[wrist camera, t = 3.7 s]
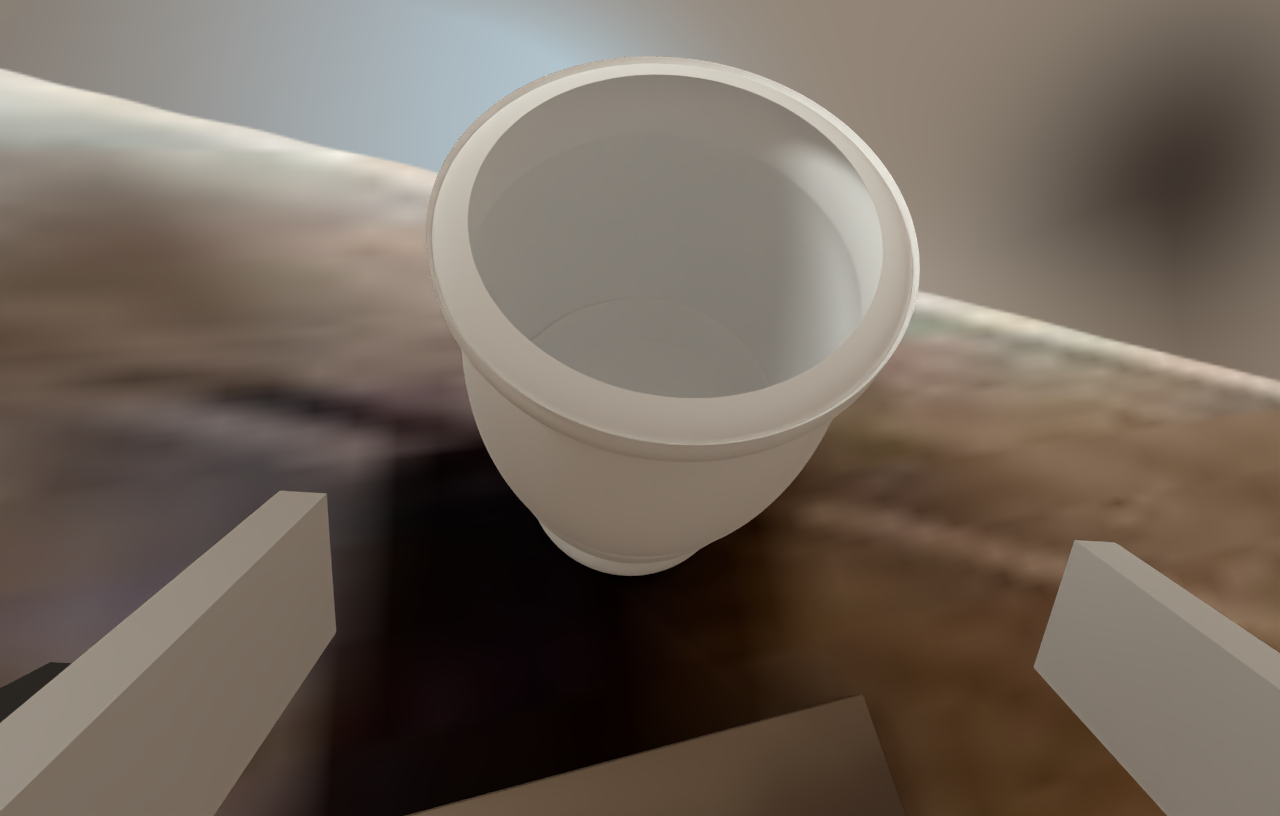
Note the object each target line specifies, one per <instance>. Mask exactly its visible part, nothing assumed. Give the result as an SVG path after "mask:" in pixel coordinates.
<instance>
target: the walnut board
mask: <svg viewBox="0 0 1280 816" xmlns="http://www.w3.org/2000/svg"><path fill="white" fill-rule="evenodd" d="M406 816H906V815H905V812H904V809H903V806H902V804H901V801H900V798H899V795H898V792H897V789H896V787H895V784H894V781H893V778H892V775H891V772H890V770H889V767H888V764H887V761H886V758H885V755H884V753H883V750H882V747H881V744H880V741H879V738H878V736H877V733H876V730H875V727H874V724H873V722H872V719H871V716H870V713H869V710H868V707H867V705H866V702H865V699H864V696H863V694H862V695H855V696H849V697H845V698H841V699H837V700H834V701H830V702H826V703H823V704H819V705H815V706H811V707H808V708H804V709H800V710H797V711H793V712H789V713H785V714H782V715H778V716H774V717H770V718H767V719H763V720H759V721H756V722H752V723H748V724H744V725H741V726H737V727H733V728H730V729H726V730H722V731H718V732H715V733H711V734H707V735H703V736H700V737H696V738H692V739H689V740H685V741H681V742H677V743H674V744H670V745H666V746H663V747H659V748H655V749H651V750H648V751H644V752H640V753H637V754H633V755H629V756H625V757H622V758H618V759H614V760H610V761H607V762H603V763H599V764H596V765H592V766H588V767H584V768H581V769H577V770H573V771H570V772H566V773H562V774H558V775H555V776H551V777H547V778H544V779H540V780H536V781H532V782H529V783H525V784H521V785H517V786H514V787H510V788H506V789H503V790H499V791H495V792H491V793H488V794H484V795H480V796H477V797H473V798H469V799H465V800H462V801H458V802H454V803H451V804H447V805H443V806H439V807H436V808H432V809H428V810H424V811H421V812H417V813H413V814H410V815H406Z"/></svg>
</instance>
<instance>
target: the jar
mask: <svg viewBox="0 0 1280 816" xmlns="http://www.w3.org/2000/svg"><path fill="white" fill-rule="evenodd" d="M426 246H427V255H428V261H429V266H430V271H431V277H432V282H433V287H434V291H435V294H436V297H437V300H438V303H439V306H440V309H441V312H442V314H443V317H444V319H445V321H446V323H447V326H448V328H449V330H450V332H451V333H452V335H453V337H454V339H455V340H456V342H457V343H458V345H459V347H460V348H461V350H462V361H463V369H464V376H465V382H466V387H467V392H468V396H469V401H470V404H471V408H472V412H473V415H474V418H475V421H476V424H477V427H478V430H479V432H480V435H481V437H482V439H483V442H484V444H485V446H486V448H487V450H488V452H489V454H490V456H491V458H492V460H493V462H494V464H495V465H496V467H497V469H498V470H499V472H500V473H501V475H502V477H503V478H504V480H505V481H506V482H507V484H508V485H509V486H510V488H511V489H512V490H513V492H514V493H515V494H516V495H517V497H518V498H519V499H520V500H521V501H522V502H523V503H524V504H525V505H526V506H527V507H528V508H529V509H530V511H531V512H532V513H533V514H534V515H535V516H536V518H537V519H538V520H539V522H540V524H541V526H542V528H543V529H544V531H545V532H546V534H547V535H548V536H549V537H550V539H551V540H552V541H553V542H554V543H555V544H556V545H557V546H558V547H559V548H560V549H561V550H562V551H563V552H564V553H566V554H567V555H568V556H570V557H571V558H573V559H574V560H576V561H577V562H579V563H581V564H583V565H585V566H587V567H589V568H592V569H594V570H597V571H601V572H604V573H608V574H614V575H623V576H638V575H647V574H652V573H656V572H660V571H663V570H666V569H669V568H671V567H673V566H675V565H677V564H679V563H681V562H683V561H685V560H686V559H688V558H689V557H691V556H692V555H693V554H694V553H696V552H697V551H698V550H699V549H701V548H703V547H705V546H706V545H708V544H710V543H712V542H714V541H716V540H718V539H720V538H722V537H724V536H726V535H728V534H730V533H732V532H733V531H735V530H737V529H738V528H740V527H742V526H743V525H745V524H746V523H748V522H749V521H750V520H752V519H753V518H754V517H756V516H757V515H758V514H760V513H761V512H762V511H763V510H764V509H766V508H767V507H768V506H769V505H770V504H771V503H772V502H773V501H774V500H776V499H777V498H778V497H779V496H780V495H781V494H782V493H783V491H784V490H785V489H786V488H787V487H788V486H789V485H790V484H791V483H792V481H793V480H794V479H795V478H796V477H797V475H798V474H799V473H800V472H801V470H802V469H803V468H804V466H805V465H806V463H807V462H808V461H809V459H810V458H811V456H812V455H813V453H814V452H815V450H816V448H817V447H818V445H819V444H820V442H821V440H822V438H823V437H824V435H825V433H826V431H827V429H828V427H829V425H830V423H831V421H832V419H833V418H834V417H836V416H837V415H838V414H840V413H841V412H842V411H844V410H845V409H846V408H847V407H849V406H850V405H851V404H852V403H853V402H854V401H856V400H857V399H858V398H859V397H860V396H861V395H862V394H863V392H864V391H865V390H866V389H867V388H868V387H869V386H870V385H871V383H872V382H873V381H874V380H875V379H876V377H877V376H878V375H879V373H880V372H881V371H882V369H883V368H884V366H885V365H886V363H887V362H888V360H889V358H890V357H891V356H892V354H893V353H894V351H895V350H896V348H897V346H898V345H899V343H900V341H901V339H902V337H903V335H904V333H905V331H906V329H907V327H908V324H909V322H910V319H911V316H912V313H913V310H914V307H915V303H916V298H917V293H918V286H919V271H920V267H919V251H918V243H917V237H916V233H915V229H914V225H913V222H912V218H911V215H910V213H909V210H908V207H907V205H906V203H905V200H904V198H903V196H902V194H901V192H900V190H899V188H898V187H897V185H896V183H895V181H894V180H893V178H892V176H891V175H890V173H889V172H888V170H887V169H886V167H885V166H884V165H883V163H882V162H881V161H880V160H879V158H878V157H877V156H876V155H875V153H874V152H873V151H872V150H871V149H870V148H869V146H868V145H867V144H866V143H865V142H864V141H863V140H862V139H861V138H860V137H859V136H858V135H857V134H856V133H855V132H854V131H852V130H851V129H850V128H849V127H848V126H847V125H845V124H844V123H843V122H842V121H840V120H839V119H838V118H837V117H835V116H834V115H833V114H831V113H830V112H829V111H827V110H826V109H824V108H823V107H821V106H820V105H818V104H817V103H815V102H813V101H812V100H810V99H809V98H807V97H805V96H803V95H802V94H800V93H797V92H796V91H794V90H792V89H790V88H788V87H786V86H784V85H781V84H779V83H777V82H775V81H772V80H770V79H767V78H765V77H762V76H760V75H757V74H754V73H751V72H748V71H745V70H741V69H738V68H734V67H731V66H726V65H722V64H718V63H713V62H708V61H702V60H696V59H688V58H678V57H659V56H640V57H624V58H614V59H607V60H601V61H595V62H590V63H586V64H581V65H578V66H574V67H570V68H567V69H563V70H560V71H557V72H555V73H552V74H549V75H547V76H544V77H542V78H540V79H537V80H535V81H533V82H531V83H529V84H527V85H525V86H523V87H521V88H519V89H517V90H516V91H514V92H512V93H511V94H509V95H507V96H506V97H504V98H503V99H501V100H500V101H498V102H497V103H496V104H494V105H493V106H492V107H491V108H489V109H488V110H487V111H486V112H484V113H483V114H482V115H481V116H480V117H479V118H478V119H477V120H476V121H475V122H474V123H473V124H472V125H471V126H470V127H469V128H468V129H467V130H466V131H465V132H464V134H463V135H462V136H461V137H460V139H459V140H458V141H457V142H456V144H455V145H454V147H453V148H452V150H451V151H450V153H449V154H448V156H447V158H446V160H445V161H444V163H443V165H442V167H441V170H440V171H439V174H438V176H437V178H436V181H435V184H434V187H433V190H432V193H431V197H430V201H429V206H428V212H427V222H426Z"/></svg>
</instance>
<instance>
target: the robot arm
mask: <svg viewBox="0 0 1280 816" xmlns="http://www.w3.org/2000/svg"><path fill="white" fill-rule="evenodd" d="M335 633H336V622H335V608H334V593H333V579H332V564H331V550H330V535H329V520H328V506H327V494H326V493H310V492H294V491H279V492H278V493H276V494H275V495H274V496H273V497H272V498H270V499H269V500H268V501H267V502H266V503H264V504H263V505H262V506H261V507H260V508H258V509H257V510H256V511H255V512H254V513H252V514H251V515H250V516H249V517H248V518H246V519H245V520H244V521H243V522H242V523H240V524H239V525H238V526H237V527H235V528H234V529H233V530H232V531H231V532H229V533H228V534H227V535H226V536H225V537H223V538H222V539H221V540H220V541H219V542H217V543H216V544H215V545H214V546H213V547H211V548H210V549H209V550H208V551H207V552H205V553H204V554H203V555H202V556H201V557H199V558H198V559H197V560H196V561H195V562H193V563H192V564H191V565H190V566H189V567H187V568H186V569H185V570H184V571H183V572H181V573H180V574H179V575H178V576H177V577H175V578H174V579H173V580H172V581H171V582H169V583H168V584H167V585H166V586H164V587H163V588H162V589H161V590H160V591H158V592H157V593H156V594H155V595H154V596H152V597H151V598H150V599H149V600H148V601H146V602H145V603H144V604H143V605H142V606H140V607H139V608H138V609H137V610H136V611H134V612H133V613H132V614H131V615H130V616H128V617H127V618H126V619H125V620H124V621H122V622H121V623H120V624H119V625H118V626H116V627H115V628H114V629H113V630H112V631H110V632H109V633H108V634H107V635H106V636H104V637H103V638H102V639H101V640H100V641H98V642H97V643H96V644H95V645H93V646H92V647H91V648H90V649H89V650H87V651H86V652H85V653H84V654H83V655H81V656H80V657H79V658H78V659H77V660H75V661H74V662H73V663H54V662H50V663H48V664H46V665H44V666H42V667H40V668H39V669H37V670H35V671H33V672H31V673H29V674H27V675H25V676H23V677H21V678H19V679H17V680H15V681H14V682H12V683H10V684H8V685H6V686H4V687H2V688H0V816H214V814H215V813H216V811H217V810H218V808H219V807H220V805H221V804H222V802H223V801H224V799H225V798H226V796H227V795H228V793H229V792H230V790H231V789H232V787H233V786H234V784H235V783H236V781H237V780H238V778H239V777H240V775H241V774H242V772H243V771H244V769H245V768H246V766H247V765H248V764H249V762H250V761H251V759H252V758H253V756H254V755H255V753H256V752H257V750H258V749H259V747H260V746H261V744H262V743H263V741H264V740H265V738H266V737H267V735H268V734H269V732H270V731H271V729H272V728H273V726H274V725H275V723H276V722H277V720H278V719H279V717H280V716H281V714H282V713H283V711H284V710H285V708H286V707H287V705H288V704H289V702H290V701H291V699H292V698H293V696H294V695H295V693H296V692H297V690H298V689H299V687H300V686H301V684H302V683H303V681H304V680H305V678H306V677H307V675H308V674H309V672H310V671H311V669H312V668H313V666H314V665H315V663H316V662H317V660H318V659H319V657H320V656H321V654H322V653H323V651H324V650H325V648H326V647H327V645H328V644H329V642H330V641H331V639H332V638H333V636H334V635H335ZM1033 668H1034V669H1035V670H1036V671H1037V672H1038V673H1039V674H1040V675H1041V676H1042V678H1043V679H1044V680H1045V681H1046V682H1047V683H1048V684H1049V685H1050V686H1051V688H1052V689H1053V690H1054V691H1055V692H1056V693H1057V694H1058V695H1059V696H1060V698H1061V699H1062V700H1063V701H1064V702H1065V703H1066V704H1067V705H1068V706H1069V707H1070V709H1071V710H1072V711H1073V712H1074V713H1075V714H1076V715H1077V716H1078V717H1079V719H1080V720H1081V721H1082V722H1083V723H1084V724H1085V725H1086V726H1087V727H1088V729H1089V730H1090V731H1091V732H1092V733H1093V734H1094V735H1095V736H1096V737H1097V739H1098V740H1099V741H1100V742H1101V743H1102V744H1103V745H1104V746H1105V747H1106V749H1107V750H1108V751H1109V752H1110V753H1111V754H1112V755H1113V756H1114V757H1115V758H1116V760H1117V761H1118V762H1119V763H1120V764H1121V765H1122V766H1123V767H1124V768H1125V770H1126V771H1127V772H1128V773H1129V774H1130V775H1131V776H1132V777H1133V778H1134V780H1135V781H1136V782H1137V783H1138V784H1139V785H1140V786H1141V787H1142V788H1143V790H1144V791H1145V792H1146V793H1147V794H1148V795H1149V796H1150V797H1151V798H1152V799H1153V801H1154V802H1155V803H1156V804H1157V805H1158V806H1159V807H1160V808H1161V809H1162V811H1163V812H1164V813H1165V814H1166V815H1167V816H1280V653H1279V652H1277V651H1276V650H1274V649H1273V648H1271V647H1270V646H1268V645H1267V644H1265V643H1264V642H1262V641H1261V640H1259V639H1258V638H1256V637H1255V636H1253V635H1252V634H1250V633H1249V632H1247V631H1246V630H1244V629H1243V628H1241V627H1240V626H1238V625H1237V624H1235V623H1234V622H1233V621H1231V620H1230V619H1228V618H1227V617H1225V616H1224V615H1222V614H1221V613H1219V612H1218V611H1216V610H1215V609H1213V608H1212V607H1210V606H1209V605H1207V604H1206V603H1204V602H1203V601H1201V600H1200V599H1198V598H1197V597H1195V596H1194V595H1192V594H1191V593H1189V592H1188V591H1186V590H1185V589H1184V588H1182V587H1181V586H1179V585H1178V584H1176V583H1175V582H1173V581H1172V580H1170V579H1169V578H1167V577H1166V576H1164V575H1163V574H1161V573H1160V572H1158V571H1157V570H1155V569H1154V568H1152V567H1151V566H1149V565H1148V564H1146V563H1145V562H1143V561H1142V560H1140V559H1139V558H1137V557H1136V556H1135V555H1133V554H1132V553H1130V552H1129V551H1127V550H1126V549H1124V548H1123V547H1121V546H1120V545H1118V544H1117V543H1114V542H1098V541H1082V540H1074V544H1073V547H1072V550H1071V553H1070V556H1069V559H1068V562H1067V565H1066V568H1065V571H1064V574H1063V578H1062V581H1061V584H1060V587H1059V590H1058V593H1057V596H1056V599H1055V602H1054V605H1053V608H1052V611H1051V615H1050V618H1049V621H1048V624H1047V627H1046V630H1045V633H1044V636H1043V639H1042V642H1041V645H1040V649H1039V652H1038V655H1037V658H1036V661H1035V664H1034V667H1033Z"/></svg>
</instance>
